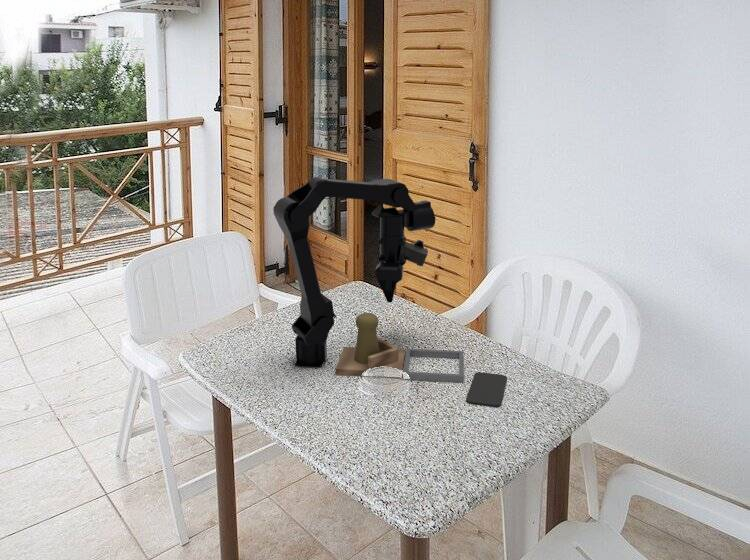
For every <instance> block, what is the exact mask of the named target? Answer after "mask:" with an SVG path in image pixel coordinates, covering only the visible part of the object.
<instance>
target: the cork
mask: <svg viewBox="0 0 750 560" xmlns="http://www.w3.org/2000/svg"><path fill="white" fill-rule="evenodd" d="M355 326H356V327H357V337H356V343H355V347H356V350H355V357H354V360H355V361H356V362H357V363H360V364H368V356H371V355H374V354H377V353H379V347H378V339H377V337H378V333H377V328H378V327H379V318H378V316H377V315H376V314H374V313H372V312H362V313H360V314H359V315H357V316H356V318H355Z"/></svg>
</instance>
